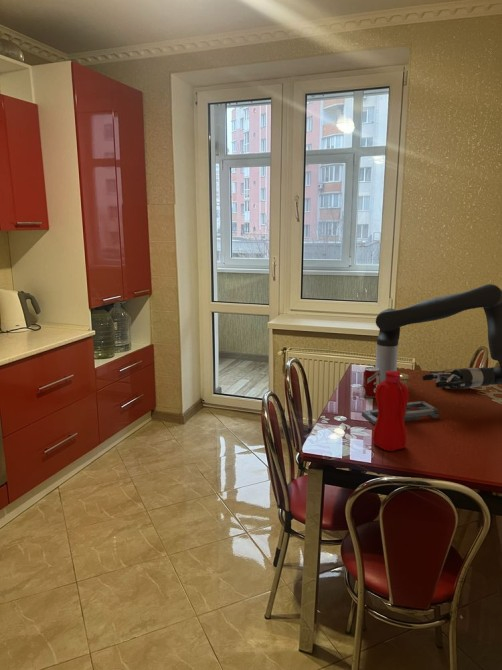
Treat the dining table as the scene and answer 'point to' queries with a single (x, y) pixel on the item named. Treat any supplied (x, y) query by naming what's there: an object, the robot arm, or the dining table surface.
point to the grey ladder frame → (408, 412)
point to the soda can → (370, 381)
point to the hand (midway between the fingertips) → (429, 381)
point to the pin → (404, 378)
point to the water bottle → (391, 413)
